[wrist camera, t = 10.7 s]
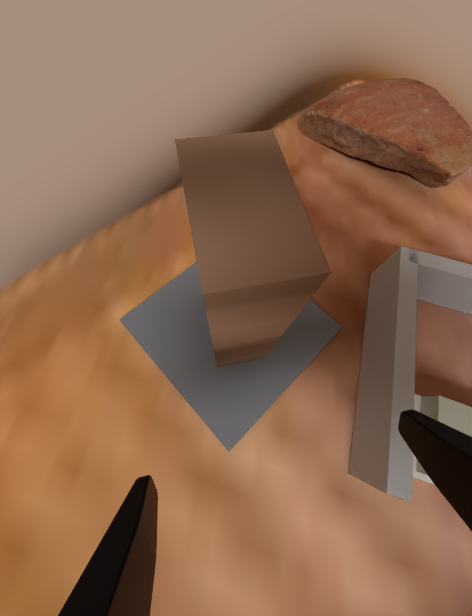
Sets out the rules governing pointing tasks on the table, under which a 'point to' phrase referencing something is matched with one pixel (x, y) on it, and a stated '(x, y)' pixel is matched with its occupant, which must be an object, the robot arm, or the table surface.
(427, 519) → the table surface
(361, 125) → the ceramic shard
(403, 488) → the rack
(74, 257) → the table surface
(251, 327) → the brown rectangular block
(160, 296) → the mat
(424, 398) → the offcut
